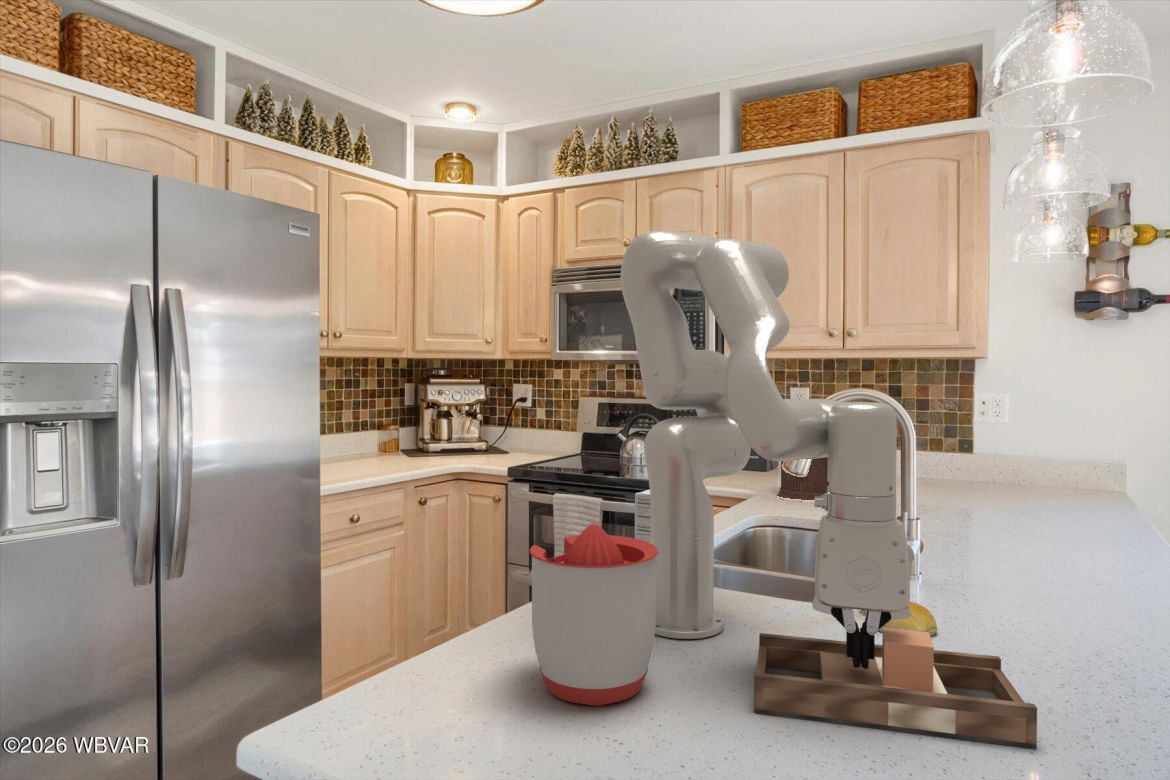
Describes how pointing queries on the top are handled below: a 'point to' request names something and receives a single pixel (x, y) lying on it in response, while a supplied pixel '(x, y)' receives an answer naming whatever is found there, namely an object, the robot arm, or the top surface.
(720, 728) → the top surface
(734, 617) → the top surface
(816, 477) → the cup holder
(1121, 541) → the top surface
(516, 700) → the top surface
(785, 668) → the board
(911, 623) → the bread roll
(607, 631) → the citrus juicer
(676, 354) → the robot arm
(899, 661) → the block
